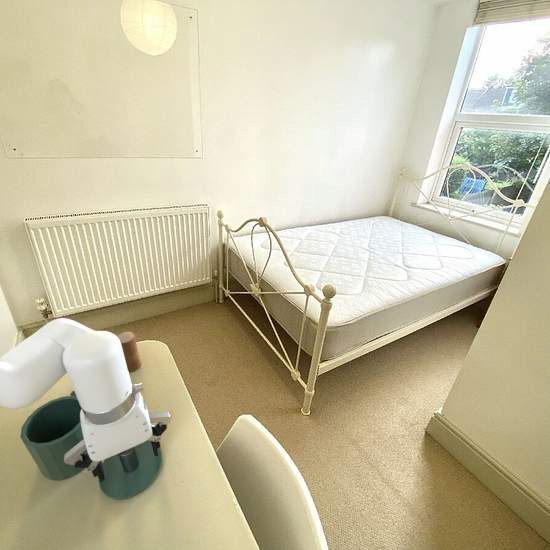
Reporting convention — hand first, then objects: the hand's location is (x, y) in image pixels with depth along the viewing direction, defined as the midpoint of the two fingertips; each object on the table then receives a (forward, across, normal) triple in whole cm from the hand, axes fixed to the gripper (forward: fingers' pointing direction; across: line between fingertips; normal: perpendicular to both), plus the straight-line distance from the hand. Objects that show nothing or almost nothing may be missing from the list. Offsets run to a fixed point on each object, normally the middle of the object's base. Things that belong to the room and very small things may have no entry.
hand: (129, 461), depth 58 cm
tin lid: (+2, 0, 0) cm, 2 cm away
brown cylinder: (+3, -4, -28) cm, 28 cm away
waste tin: (+3, +10, -9) cm, 14 cm away
